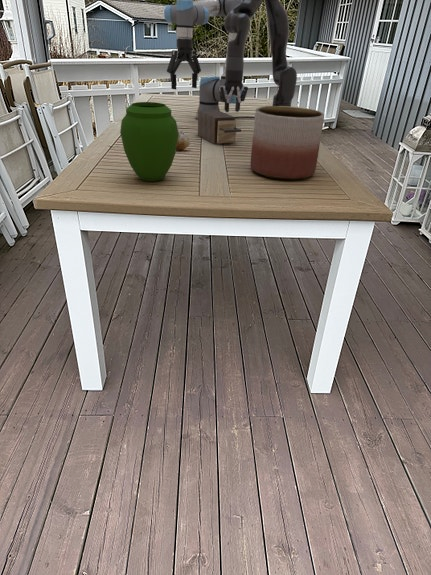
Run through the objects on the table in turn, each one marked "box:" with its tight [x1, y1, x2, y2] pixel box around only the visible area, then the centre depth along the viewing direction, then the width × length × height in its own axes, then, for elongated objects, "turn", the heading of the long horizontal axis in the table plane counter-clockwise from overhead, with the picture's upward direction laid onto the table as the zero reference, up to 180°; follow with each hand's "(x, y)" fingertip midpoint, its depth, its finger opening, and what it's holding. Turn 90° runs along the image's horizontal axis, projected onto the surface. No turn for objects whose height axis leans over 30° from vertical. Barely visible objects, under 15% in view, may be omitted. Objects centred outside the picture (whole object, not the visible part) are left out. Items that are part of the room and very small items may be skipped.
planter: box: [249, 105, 325, 181], centre depth 155 cm, size 25×25×22 cm
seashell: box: [176, 130, 191, 151], centre depth 180 cm, size 10×6×8 cm, turn 97°
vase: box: [119, 101, 179, 182], centre depth 140 cm, size 20×20×24 cm
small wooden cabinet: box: [197, 109, 236, 145], centre depth 202 cm, size 20×10×12 cm, turn 25°
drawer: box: [216, 119, 242, 144], centre depth 197 cm, size 25×9×10 cm, turn 25°
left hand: (184, 88), depth 203 cm, fingers open, 13 cm apart
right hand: (231, 111), depth 184 cm, fingers open, 4 cm apart
